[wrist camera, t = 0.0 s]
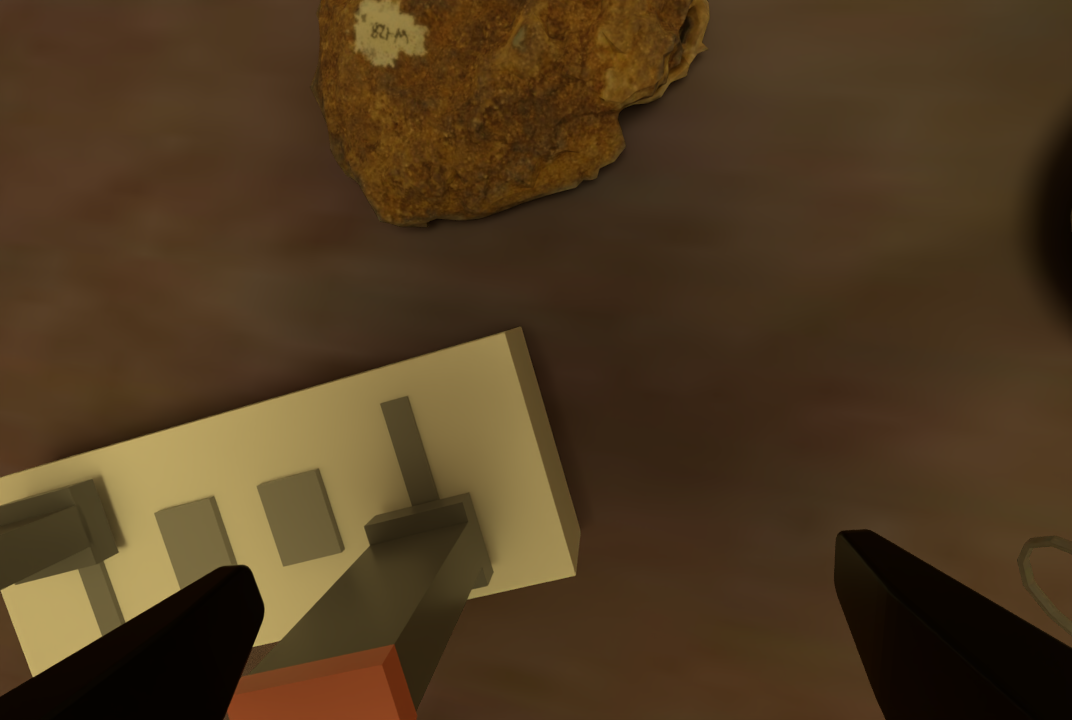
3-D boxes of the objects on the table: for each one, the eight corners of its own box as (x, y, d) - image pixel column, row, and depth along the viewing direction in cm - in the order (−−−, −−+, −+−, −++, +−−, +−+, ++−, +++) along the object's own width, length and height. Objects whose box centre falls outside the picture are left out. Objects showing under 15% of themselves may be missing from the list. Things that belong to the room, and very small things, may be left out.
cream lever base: (580, 530, 25) (575, 579, 21) (118, 637, 28) (31, 698, 24) (521, 326, 24) (503, 332, 20) (55, 460, 27) (-46, 490, 23)
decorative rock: (639, -162, 22) (306, 22, 25) (640, -268, 18) (242, -36, 21) (749, 119, 22) (404, 271, 25) (773, 74, 18) (359, 262, 21)
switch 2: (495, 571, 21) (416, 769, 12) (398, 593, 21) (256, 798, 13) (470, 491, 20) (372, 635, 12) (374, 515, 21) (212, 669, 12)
